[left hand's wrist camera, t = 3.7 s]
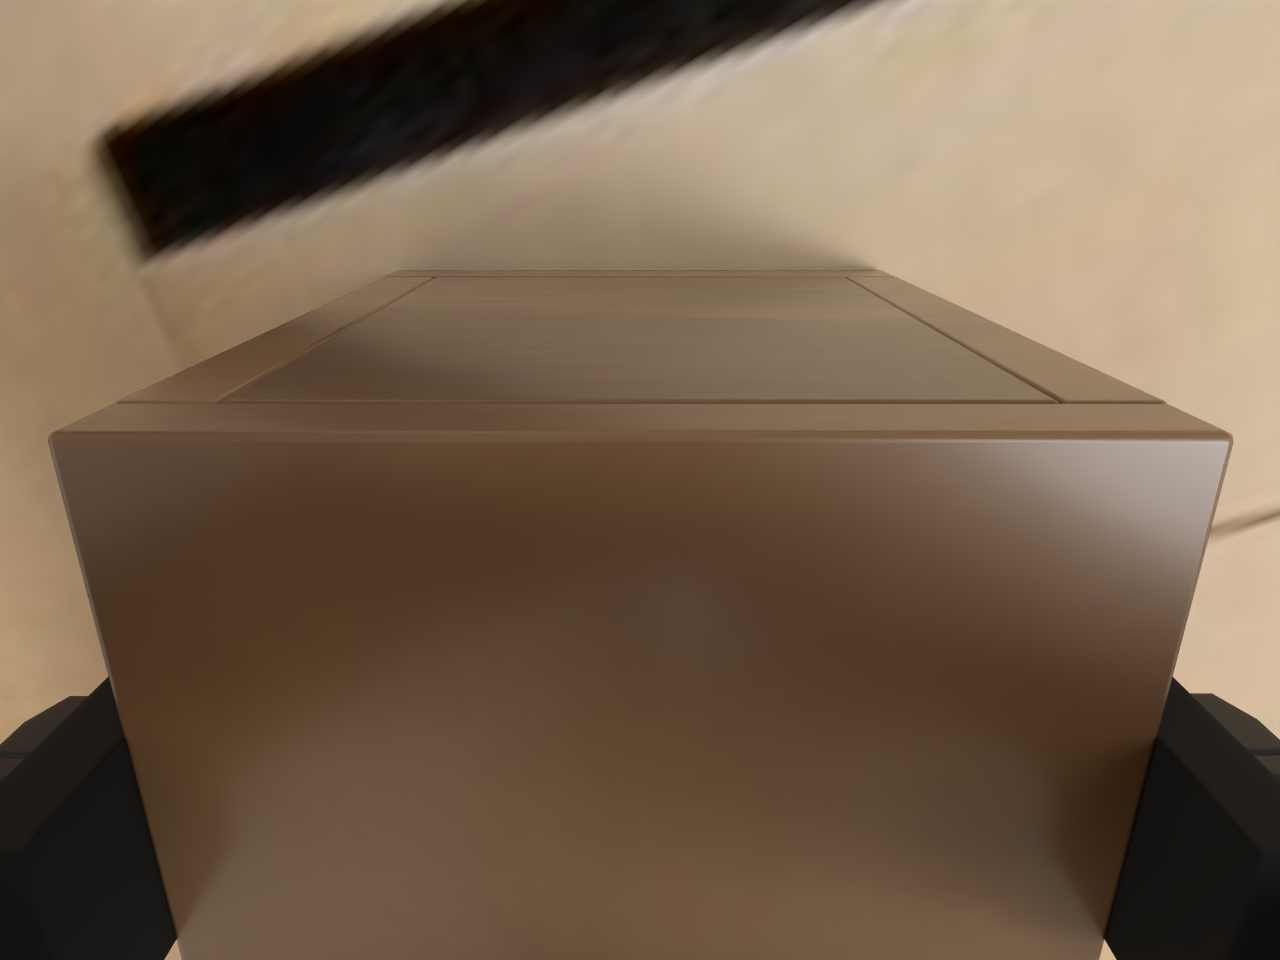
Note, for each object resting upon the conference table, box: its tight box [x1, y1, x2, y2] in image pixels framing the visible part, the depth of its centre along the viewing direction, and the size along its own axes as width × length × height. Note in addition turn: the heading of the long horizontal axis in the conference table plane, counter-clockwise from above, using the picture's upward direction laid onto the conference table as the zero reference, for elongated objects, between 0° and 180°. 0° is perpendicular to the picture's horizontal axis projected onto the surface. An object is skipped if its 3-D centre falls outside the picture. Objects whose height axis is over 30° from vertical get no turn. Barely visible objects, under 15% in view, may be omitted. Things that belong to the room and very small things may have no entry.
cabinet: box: [48, 271, 1233, 960], centre depth 16 cm, size 17×10×11 cm, turn 0°
